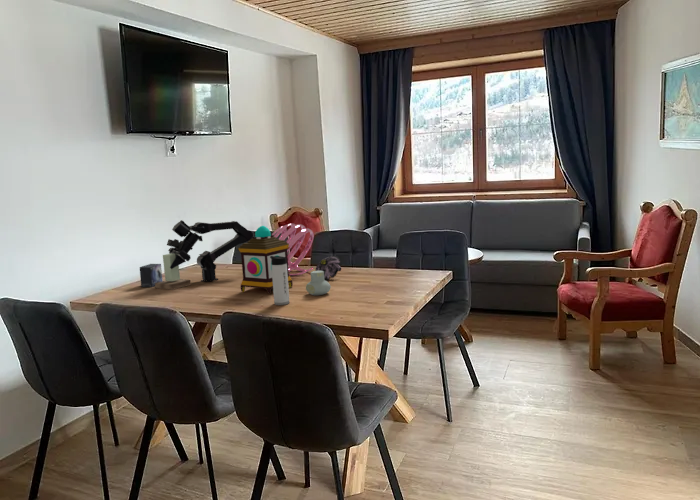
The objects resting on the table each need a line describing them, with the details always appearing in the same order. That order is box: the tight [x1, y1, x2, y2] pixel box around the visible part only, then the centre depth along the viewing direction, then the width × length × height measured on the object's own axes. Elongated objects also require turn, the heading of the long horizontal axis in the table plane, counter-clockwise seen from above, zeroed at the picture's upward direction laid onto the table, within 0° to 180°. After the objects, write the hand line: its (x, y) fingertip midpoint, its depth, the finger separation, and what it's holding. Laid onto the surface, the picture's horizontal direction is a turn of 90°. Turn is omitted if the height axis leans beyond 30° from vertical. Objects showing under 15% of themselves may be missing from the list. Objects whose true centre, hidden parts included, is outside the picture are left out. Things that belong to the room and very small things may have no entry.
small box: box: [139, 263, 163, 288], centre depth 285 cm, size 11×6×10 cm, turn 168°
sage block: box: [162, 253, 181, 281], centre depth 279 cm, size 5×5×13 cm
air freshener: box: [305, 270, 332, 296], centre depth 245 cm, size 11×8×10 cm
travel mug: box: [270, 256, 290, 306], centre depth 230 cm, size 6×7×20 cm
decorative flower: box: [314, 255, 342, 282], centre depth 280 cm, size 15×12×15 cm
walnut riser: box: [154, 278, 192, 291], centre depth 280 cm, size 12×12×2 cm
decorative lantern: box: [237, 225, 294, 296], centre depth 258 cm, size 20×20×30 cm
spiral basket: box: [271, 223, 315, 277], centre depth 295 cm, size 28×28×27 cm
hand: (168, 267), depth 278 cm, fingers closed on sage block, 6 cm apart
